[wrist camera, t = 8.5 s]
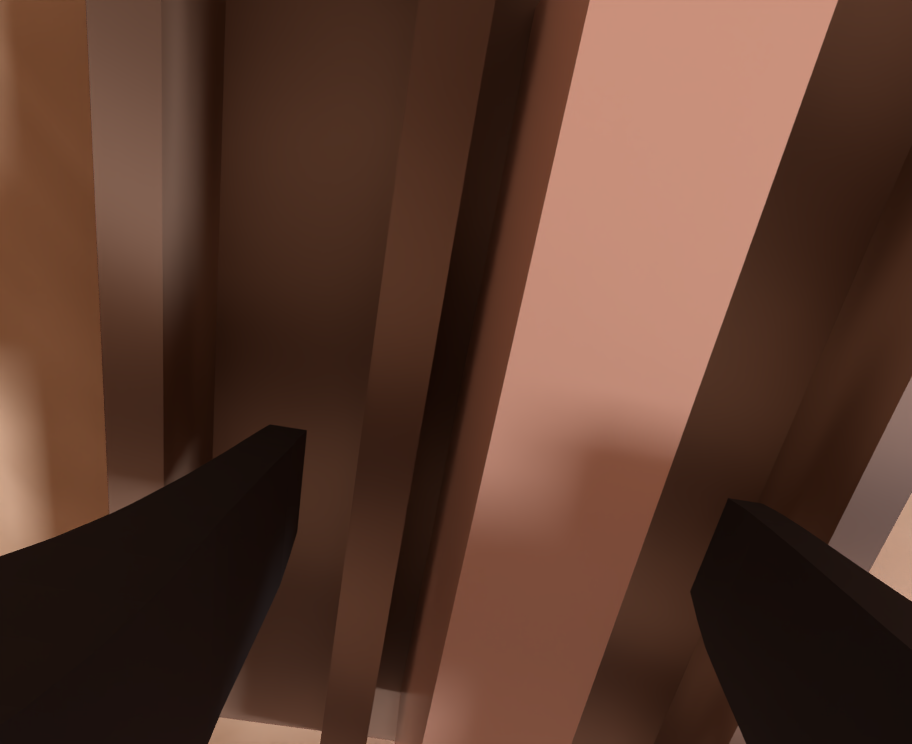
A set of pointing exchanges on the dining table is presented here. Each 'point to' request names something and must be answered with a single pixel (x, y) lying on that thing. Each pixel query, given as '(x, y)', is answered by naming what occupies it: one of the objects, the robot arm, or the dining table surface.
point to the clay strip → (592, 340)
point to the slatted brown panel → (463, 320)
